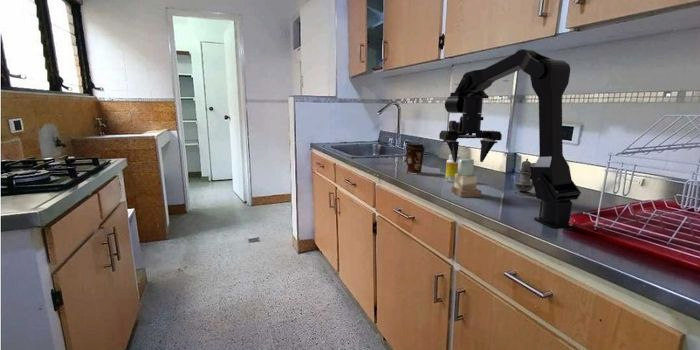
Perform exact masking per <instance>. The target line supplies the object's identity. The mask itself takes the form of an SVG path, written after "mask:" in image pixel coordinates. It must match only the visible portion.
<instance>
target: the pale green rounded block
mask: <svg viewBox="0 0 700 350" xmlns="http://www.w3.org/2000/svg"><path fill="white" fill-rule="evenodd" d="M474 163H475V160H474V159H472V158H460V159H458V175H460V176H473V175H474V167H475V166H474V165H475V164H474Z"/></svg>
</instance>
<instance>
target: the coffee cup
mask: <svg viewBox="0 0 700 350" xmlns="http://www.w3.org/2000/svg"><path fill="white" fill-rule="evenodd" d="M405 145H406V146H405V150H406V153H405V160H406V166H407V170H406V173H407V172H408V173H407V174H409V173H418V174H417V175H420V174H419V173H421V174H422V168H423V167H422V166H423V161H424V153H425V149H426V148H425V146H424V144H423V143H419V142H418V143H417V142H410V143H409V142H408V143H406V144H405Z"/></svg>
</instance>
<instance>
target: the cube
mask: <svg viewBox="0 0 700 350" xmlns="http://www.w3.org/2000/svg"><path fill="white" fill-rule="evenodd" d="M477 181H478V176H477V175H474V174H473V176H460V175H458V174H455V182H454V183H453V184H454V187H455V188H458V189H460V190H476V189H477Z"/></svg>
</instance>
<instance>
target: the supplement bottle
mask: <svg viewBox="0 0 700 350" xmlns="http://www.w3.org/2000/svg"><path fill="white" fill-rule="evenodd" d="M460 157H461V156H460V155H459V154H458V155H457V161H456V162H453V158H452V155H451V154H449V155H448V159H447V160H446V164H445V167H446V168H445V181H446V182H449V183H450V182H451V183H455V174H458V159H461V158H460Z"/></svg>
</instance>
